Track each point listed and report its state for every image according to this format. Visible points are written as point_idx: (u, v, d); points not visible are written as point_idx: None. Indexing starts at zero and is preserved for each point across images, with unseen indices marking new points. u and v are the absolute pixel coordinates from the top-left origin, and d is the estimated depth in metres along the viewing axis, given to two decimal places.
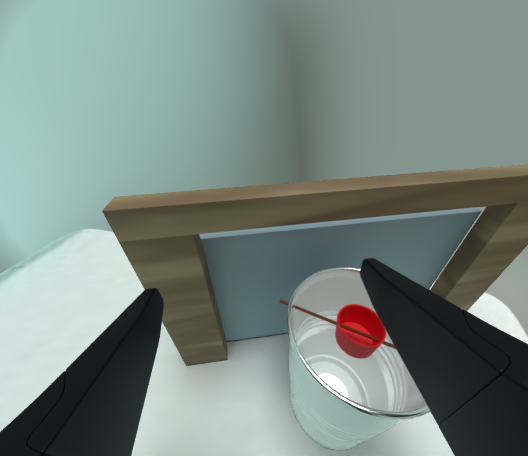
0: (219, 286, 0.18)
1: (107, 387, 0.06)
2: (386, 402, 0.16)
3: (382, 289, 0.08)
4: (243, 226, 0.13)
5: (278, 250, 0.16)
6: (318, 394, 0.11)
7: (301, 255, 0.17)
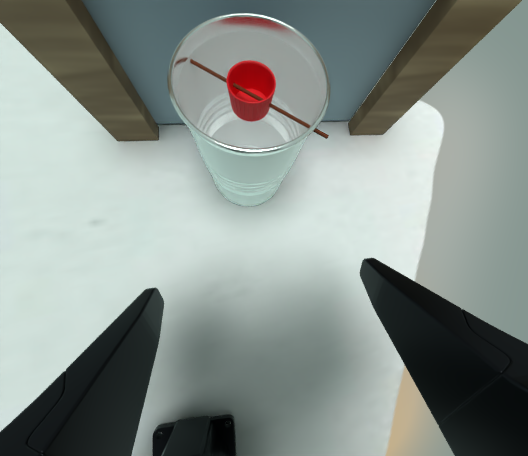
0: (111, 33, 0.14)
1: (107, 387, 0.06)
2: None
3: (382, 289, 0.08)
4: None
5: None
6: (199, 143, 0.13)
7: None
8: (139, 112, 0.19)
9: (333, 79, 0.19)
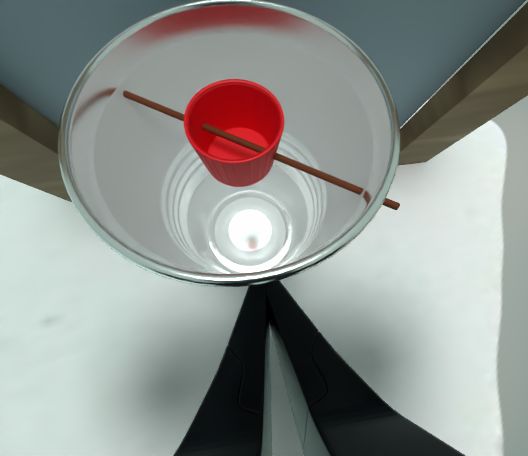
0: (12, 77, 0.09)
1: (266, 361, 0.06)
2: (303, 237, 0.13)
3: (268, 306, 0.08)
4: None
5: None
6: (148, 239, 0.07)
7: None
8: None
9: None
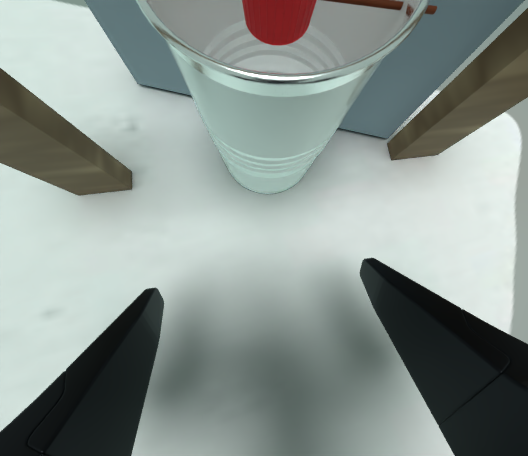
0: None
1: (107, 387, 0.06)
2: None
3: (382, 289, 0.08)
4: None
5: None
6: (227, 110, 0.07)
7: None
8: (92, 163, 0.13)
9: None
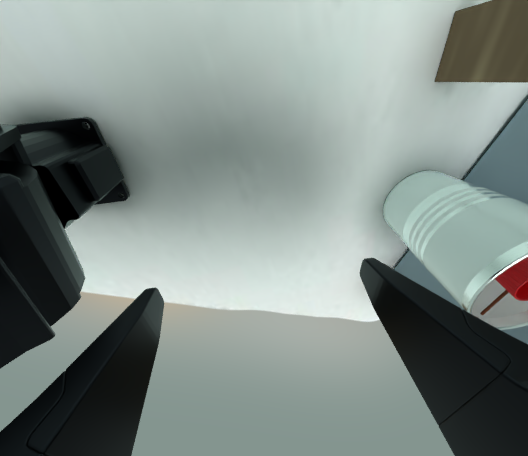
0: None
1: (107, 387, 0.06)
2: None
3: (382, 289, 0.08)
4: None
5: None
6: (475, 247, 0.14)
7: None
8: (484, 80, 0.14)
9: None
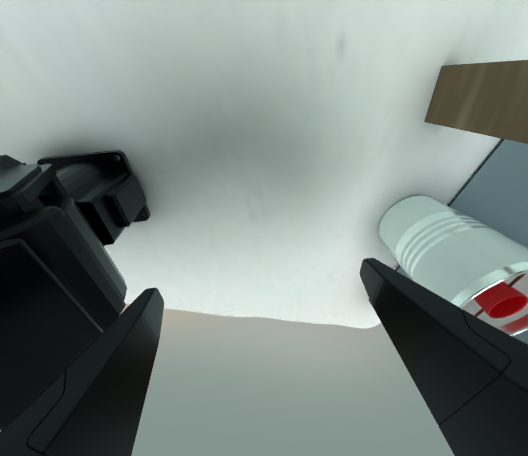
0: None
1: (107, 387, 0.06)
2: None
3: (382, 289, 0.08)
4: None
5: None
6: (455, 272, 0.16)
7: None
8: (465, 129, 0.16)
9: None
